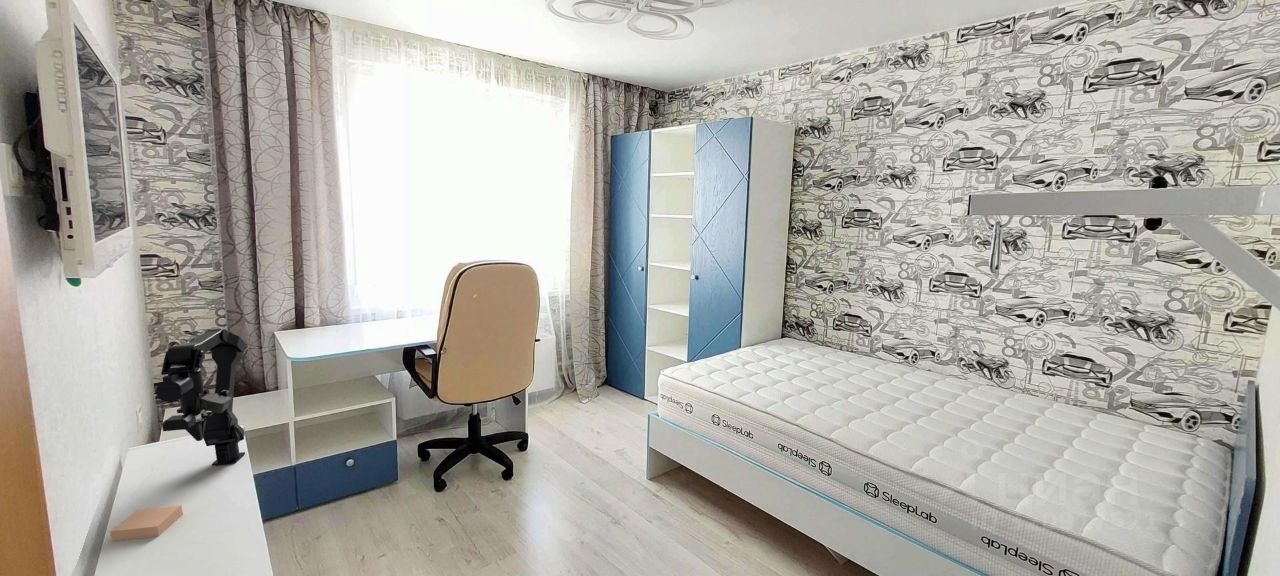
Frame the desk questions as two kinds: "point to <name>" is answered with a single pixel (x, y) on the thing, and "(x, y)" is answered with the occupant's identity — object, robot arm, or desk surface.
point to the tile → (146, 523)
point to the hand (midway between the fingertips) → (199, 440)
